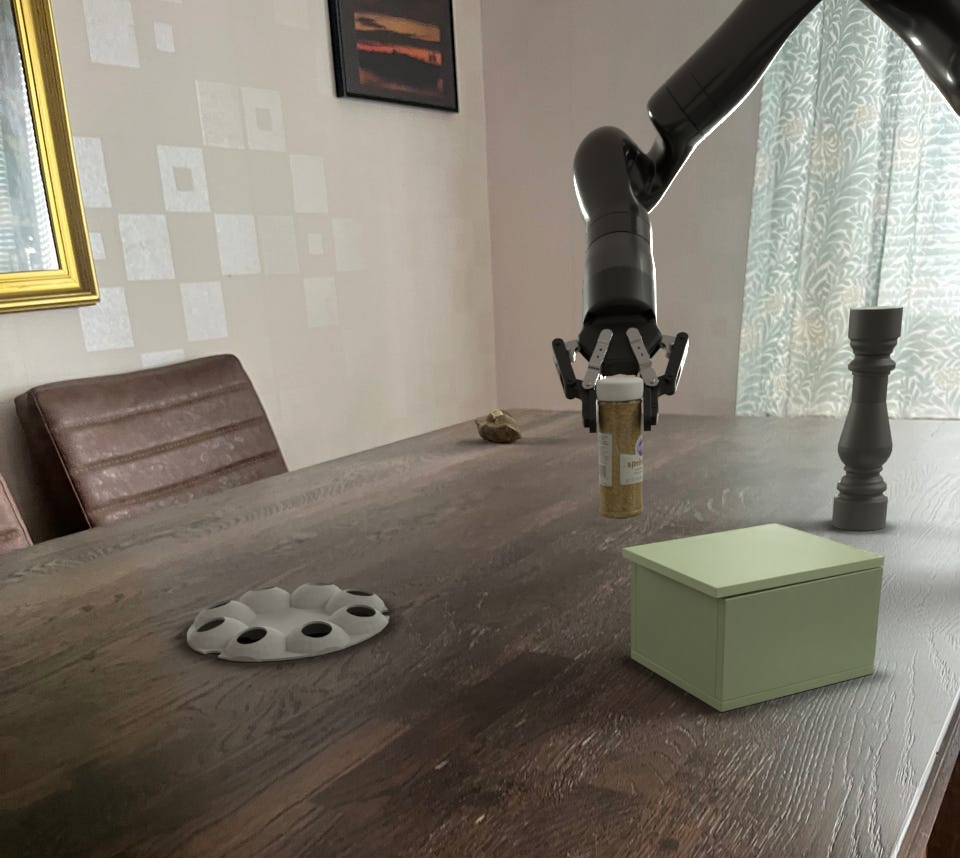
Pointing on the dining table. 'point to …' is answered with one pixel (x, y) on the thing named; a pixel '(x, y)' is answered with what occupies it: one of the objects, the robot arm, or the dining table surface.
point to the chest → (755, 635)
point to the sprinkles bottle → (620, 446)
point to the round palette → (287, 623)
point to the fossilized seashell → (499, 427)
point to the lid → (750, 559)
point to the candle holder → (867, 420)
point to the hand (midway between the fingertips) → (620, 426)
